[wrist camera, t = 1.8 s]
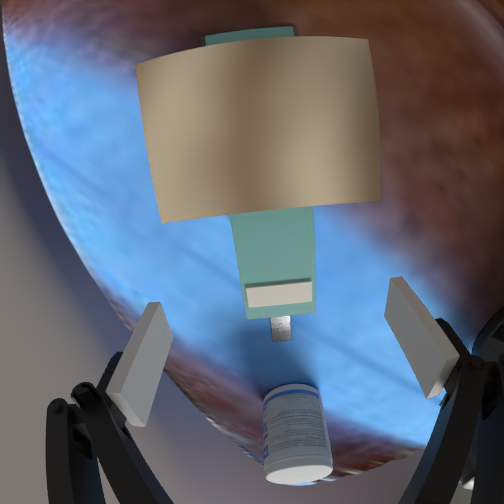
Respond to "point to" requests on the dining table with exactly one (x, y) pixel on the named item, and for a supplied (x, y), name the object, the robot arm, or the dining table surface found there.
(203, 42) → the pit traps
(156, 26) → the dining table surface
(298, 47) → the tunnel
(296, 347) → the dining table surface
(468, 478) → the robot arm
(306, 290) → the beige-capped teal block
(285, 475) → the supplement tub
